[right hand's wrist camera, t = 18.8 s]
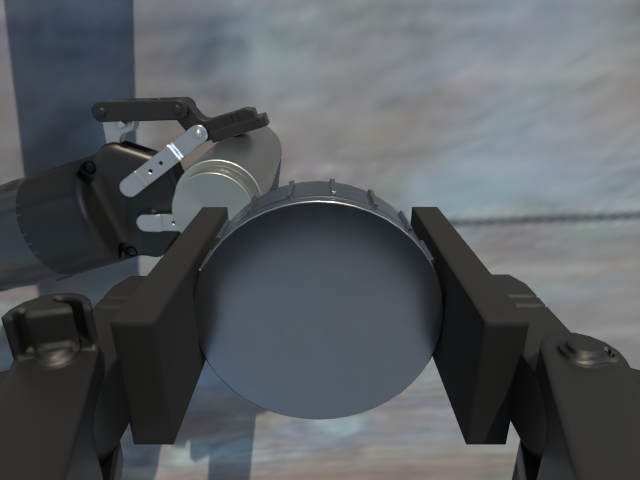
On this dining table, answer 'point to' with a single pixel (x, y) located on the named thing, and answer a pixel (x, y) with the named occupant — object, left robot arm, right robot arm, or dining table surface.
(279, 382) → the lid
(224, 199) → the jar
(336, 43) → the dining table surface
